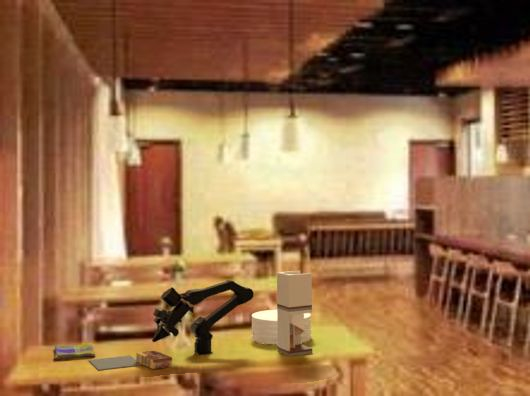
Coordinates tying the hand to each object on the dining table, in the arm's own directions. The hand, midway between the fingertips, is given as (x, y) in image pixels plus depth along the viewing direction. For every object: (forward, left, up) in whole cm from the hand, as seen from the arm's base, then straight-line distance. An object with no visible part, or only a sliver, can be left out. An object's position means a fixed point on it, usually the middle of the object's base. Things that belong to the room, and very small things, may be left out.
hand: (152, 341), depth 338 cm
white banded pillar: (-59, +18, -8) cm, 62 cm away
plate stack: (-66, -10, -8) cm, 67 cm away
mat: (+17, 0, -7) cm, 18 cm away
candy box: (+4, +3, -5) cm, 7 cm away
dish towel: (+28, -26, -8) cm, 39 cm away
